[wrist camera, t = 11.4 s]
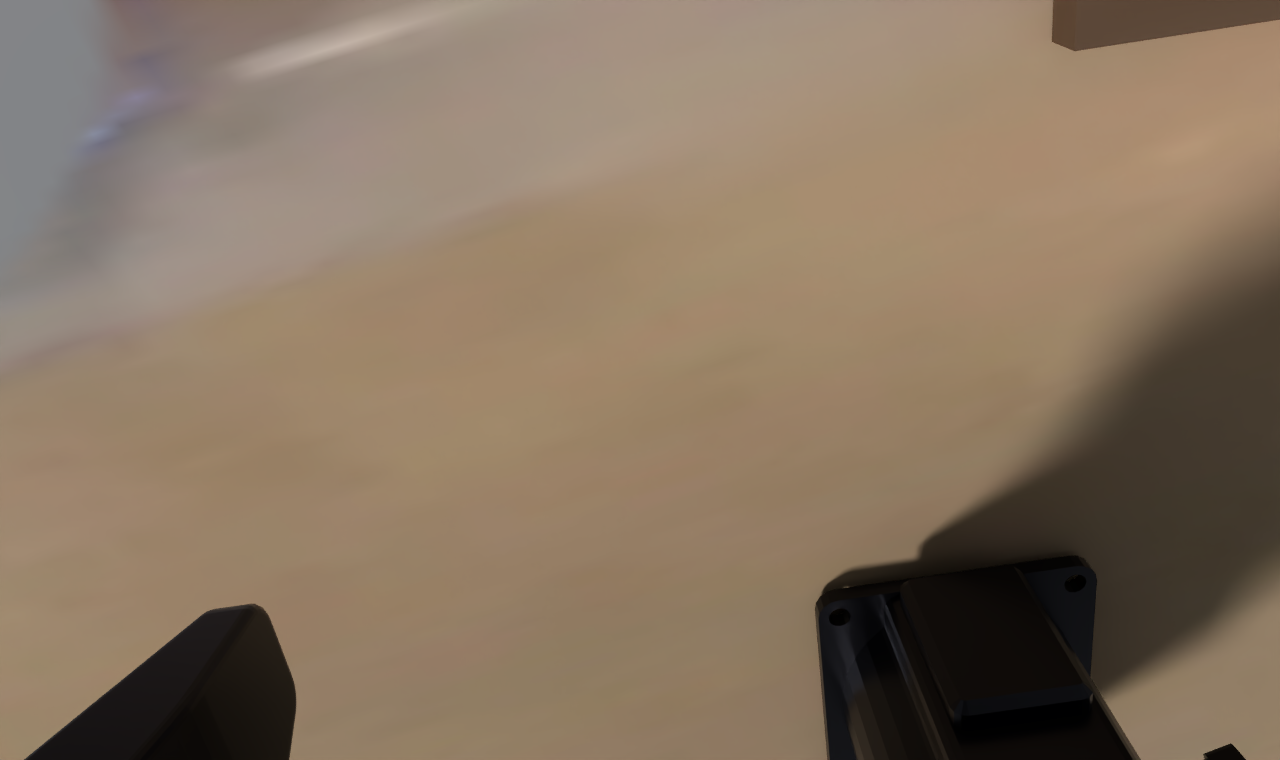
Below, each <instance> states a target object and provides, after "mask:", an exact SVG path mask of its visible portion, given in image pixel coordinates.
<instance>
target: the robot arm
mask: <svg viewBox="0 0 1280 760" xmlns="http://www.w3.org/2000/svg"><path fill="white" fill-rule="evenodd" d="M1073 575H1078V576H1077V577H1076V578H1075V579H1074V580H1071V581H1068V582H1065V581H1066V580H1067V579H1068V578H1069V577H1070V576H1073ZM1096 585H1097V578H1096V574H1095V572H1094V571H1093V570H1092V568H1091V567H1090V565H1089V564H1088V563H1087V562H1086V560H1085V559H1084V558H1081V557H1079V556H1064V557H1057V558H1050V559H1043V560H1036V561H1029V562H1022V563H1015V564H1009V565H1002V566H995V567H988V568H981V569H974V570H967V571H960V572H953V573H946V574H939V575H933V576H926V577H919V578H912V579H905V580H898V581H891V582H884V583H877V584H870V585H863V586H856V587H850V588H843V589H836V590H832V591H829V592H826V593H825V594H823V595H822V596H821V597H820V598H819V599H818V601H817V602H816V606H815V616H816V628H817V640H818V652H819V664H820V676H821V688H822V700H823V712H824V724H825V736H826V748H827V760H1141V759H1140V758H1139V756H1138V755H1137V753H1136V751H1135V750H1134V748H1133V746H1132V745H1131V743H1130V741H1129V740H1128V738H1127V737H1126V735H1125V733H1124V732H1123V730H1122V728H1121V727H1120V725H1119V724H1118V722H1117V720H1116V719H1115V717H1114V715H1113V714H1112V712H1111V710H1110V709H1109V707H1108V706H1107V704H1106V702H1105V701H1104V699H1103V697H1102V696H1101V694H1100V693H1099V691H1098V689H1097V688H1096V686H1095V684H1094V683H1093V681H1092V680H1091V678H1090V671H1091V657H1092V643H1093V628H1094V614H1095V600H1096ZM837 609H845V611H844V612H843V613H841V614H838V615H831V613H832V612H833V611H834V610H837ZM295 714H296V691H295V685H294V681H293V678H292V675H291V672H290V670H289V667H288V664H287V662H286V659H285V657H284V654H283V651H282V649H281V646H280V643H279V641H278V638H277V636H276V633H275V630H274V628H273V625H272V623H271V620H270V618H269V616H268V614H267V613H266V611H265V610H264V609H263V608H262V607H260V606H258V605H256V604H246V605H240V606H233V607H226V608H219V609H213V610H210V611H207V612H206V613H204V614H203V615H201V616H200V617H199V618H198V619H196V620H195V621H194V622H193V623H192V624H190V625H189V626H188V627H187V628H185V629H184V630H183V631H182V632H180V633H179V634H178V635H177V636H176V637H174V638H173V639H172V640H171V641H169V642H168V643H167V644H166V645H164V646H163V647H162V648H161V649H160V650H158V651H157V652H156V653H155V654H153V655H152V656H151V657H150V658H148V659H147V660H146V661H145V662H144V663H142V664H141V665H140V666H139V667H137V668H136V669H135V670H134V671H133V672H131V673H130V674H129V675H128V676H126V677H125V678H124V679H123V680H121V681H120V682H119V683H118V684H117V685H115V686H114V687H113V688H112V689H110V690H109V691H108V692H107V693H105V694H104V695H103V696H102V697H101V698H99V699H98V700H97V701H96V702H94V703H93V704H92V705H91V706H89V707H88V708H87V709H86V710H85V711H83V712H82V713H81V714H80V715H78V716H77V717H76V718H75V719H73V720H72V721H71V722H70V723H69V724H67V725H66V726H65V727H64V728H62V729H61V730H60V731H59V732H57V733H56V734H55V735H54V736H53V737H51V738H50V739H49V740H48V741H46V742H45V743H44V744H43V745H41V746H40V747H39V748H38V749H37V750H35V751H34V752H33V753H32V754H30V755H29V756H28V757H27V758H25V759H24V760H289V757H290V750H291V743H292V736H293V728H294V721H295ZM1203 755H1204V758H1205V759H1204V760H1246V759H1245V758H1244V757H1243V756H1242V755H1241V754H1240V752H1239V751H1238V750H1237V749H1236V748H1235V747H1234V746H1233V745H1232V744H1228V745H1226V746H1223V747H1220V748H1218V749H1215V750H1213V751H1210V752H1207V753H1205V754H1203Z"/></svg>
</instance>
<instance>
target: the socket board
mask: <svg viewBox="0 0 1280 760" xmlns="http://www.w3.org/2000/svg"><path fill="white" fill-rule="evenodd" d="M1273 20H1280V0H1053V27H1052V42H1054V43H1056V44H1059V45H1061V46H1063V47H1066V48H1068V49H1071V50H1073V51H1078V50H1085V49H1091V48H1098V47H1104V46H1111V45H1117V44H1124V43H1130V42H1137V41H1143V40H1150V39H1156V38H1163V37H1169V36H1176V35H1182V34H1189V33H1195V32H1202V31H1208V30H1215V29H1221V28H1228V27H1234V26H1241V25H1247V24H1254V23H1260V22H1267V21H1273Z"/></svg>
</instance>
